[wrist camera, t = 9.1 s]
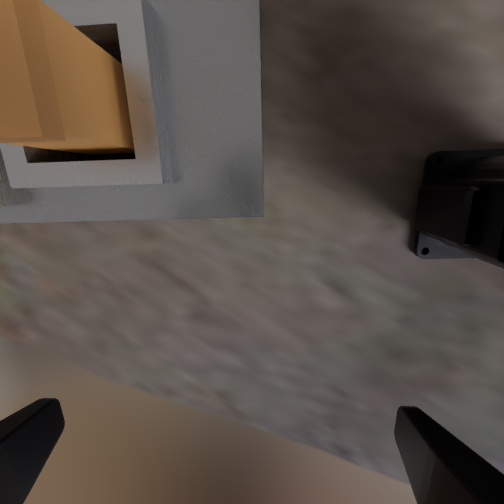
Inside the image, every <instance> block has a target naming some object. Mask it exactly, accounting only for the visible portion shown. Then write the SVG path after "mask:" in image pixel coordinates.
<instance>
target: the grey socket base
mask: <svg viewBox="0 0 504 504" xmlns="http://www.w3.org/2000/svg"><path fill="white" fill-rule="evenodd" d="M41 1H42V2H44V3H45V4H46V5H47V6H49V7H50V8H51V9H53V10H54V11H55V12H56V13H58V14H59V15H60V16H61V17H63V18H64V19H65V20H67V21H68V22H69V23H70V24H72V25H73V26H74V27H75V28H77V29H78V30H79V31H80V32H82V33H83V34H84V35H86V36H87V37H88V38H89V39H91V40H92V41H93V42H94V43H96V44H97V45H98V46H100V47H101V48H102V49H103V50H105V51H106V52H107V53H108V54H110V55H111V56H112V57H114V58H115V59H116V60H117V61H119V62H120V63H122V65H123V72H124V79H125V86H126V94H127V101H128V108H129V115H130V122H131V129H132V136H133V143H134V150H135V157H136V159H125V160H99V161H79V157H78V153H74V152H67V151H59V150H51V149H43V148H36V147H28V146H20V145H13V144H5V143H0V223H33V222H72V221H112V220H151V219H190V218H229V217H264V191H263V142H262V93H261V43H260V0H41Z"/></svg>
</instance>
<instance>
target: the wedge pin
mask: <svg viewBox="0 0 504 504" xmlns="http://www.w3.org/2000/svg"><path fill="white" fill-rule="evenodd" d="M0 143H5V144H13V145H20V146H28V147H36V148H43V149H51V150H59V151H67V152H74V153H82V154H90V155H93V154H125V153H135V150H134V143H133V136H132V129H131V122H130V115H129V108H128V101H127V94H126V86H125V79H124V72H123V65H122V64H121V63H120V62H119V61H117V60H116V59H115V58H114V57H112V56H111V55H110V54H108V53H107V52H106V51H105V50H103V49H102V48H101V47H100V46H98V45H97V44H96V43H94V42H93V41H92V40H91V39H89V38H88V37H87V36H86V35H84V34H83V33H82V32H80V31H79V30H78V29H77V28H75V27H74V26H73V25H72V24H70V23H69V22H68V21H67V20H65V19H64V18H63V17H61V16H60V15H59V14H58V13H56V12H55V11H54V10H53V9H51V8H50V7H49V6H47V5H46V4H45V3H44V2H42V1H41V0H0Z"/></svg>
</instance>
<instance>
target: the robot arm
mask: <svg viewBox="0 0 504 504" xmlns="http://www.w3.org/2000/svg"><path fill="white" fill-rule="evenodd" d="M436 157H438V158H439V162H438V163H437V164H435V163H434V159H435V158H436ZM415 229H416V237H415V245H414V253H415V255H416V256H418V257H420V258H423V259H440V258H477V259H480V260H483V261H485V262H488V263H490V264H493V265H496V266H498V267H501V268H503V269H504V149H490V150H464V151H439V152H434V153H431V154H430V155H429V156H428V157H427V159H426V163H425V170H424V178H423V185H422V187H421V188H420V190H419V197H418V205H417V212H416V220H415ZM423 248H426V250H425V252H424V253H421V250H422V249H423ZM64 425H65V421H64V417H63V414H62V409H61V405H60V402H59V400H58V399H56V398H42V399H39V400H37V401H35V402H33V403H32V404H30V405H28V406H26V407H24V408H22V409H21V410H19V411H17V412H15V413H14V414H12V415H10V416H8V417H6V418H5V419H3V420H1V421H0V504H23V503H24V501H25V499H26V497H27V496H28V494H29V492H30V491H31V489H32V487H33V485H34V483H35V481H36V479H37V478H38V476H39V474H40V472H41V471H42V469H43V467H44V465H45V463H46V461H47V459H48V458H49V456H50V454H51V452H52V450H53V449H54V447H55V445H56V443H57V441H58V439H59V437H60V436H61V434H62V432H63V429H64ZM394 435H395V440H396V444H397V446H398V449H399V452H400V455H401V458H402V461H403V464H404V467H405V470H406V473H407V475H408V478H409V481H410V484H411V487H412V490H413V493H414V496H415V499H416V501H417V504H504V474H503V473H501V472H500V471H499V470H497V469H496V468H495V467H494V466H492V465H491V464H490V463H488V462H487V461H486V460H485V459H483V458H482V457H481V456H479V455H478V454H477V453H476V452H474V451H473V450H472V449H470V448H469V447H468V446H467V445H465V444H464V443H463V442H462V441H460V440H459V439H458V438H456V437H455V436H454V435H453V434H451V433H450V432H449V431H447V430H446V429H445V428H444V427H442V426H441V425H440V424H438V423H437V422H436V421H435V420H433V419H432V418H431V417H430V416H428V415H427V414H426V413H424V412H423V411H422V410H421V409H419V408H417V407H415V406H400V407H399V408H398V410H397V416H396V423H395V429H394Z"/></svg>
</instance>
